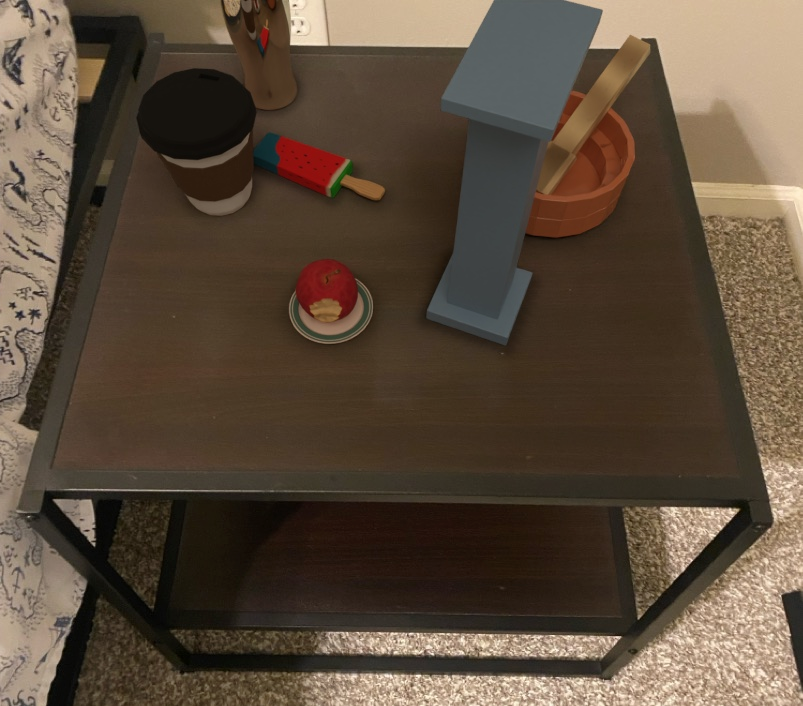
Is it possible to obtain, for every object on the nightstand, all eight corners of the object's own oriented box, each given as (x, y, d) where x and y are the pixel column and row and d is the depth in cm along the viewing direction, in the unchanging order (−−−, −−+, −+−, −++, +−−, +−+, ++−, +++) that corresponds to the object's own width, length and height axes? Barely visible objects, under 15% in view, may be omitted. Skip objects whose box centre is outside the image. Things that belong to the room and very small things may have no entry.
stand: (499, 363, 66) (562, 132, 41) (418, 335, 67) (432, 95, 43) (536, 266, 71) (610, 11, 47) (460, 242, 72) (495, -18, 48)
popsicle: (372, 205, 73) (247, 156, 76) (372, 214, 74) (250, 166, 77) (392, 175, 75) (270, 129, 78) (392, 185, 76) (272, 139, 79)
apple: (389, 317, 68) (389, 277, 62) (320, 361, 65) (313, 324, 60) (341, 263, 71) (337, 220, 65) (273, 303, 69) (262, 262, 63)
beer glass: (310, 79, 84) (295, -45, 71) (287, 119, 81) (267, -4, 68) (255, 67, 85) (231, -58, 72) (231, 105, 82) (201, -18, 69)
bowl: (616, 137, 80) (631, 94, 75) (620, 248, 72) (638, 208, 67) (476, 124, 81) (481, 80, 76) (465, 232, 73) (471, 192, 68)
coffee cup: (193, 147, 79) (162, 54, 68) (287, 167, 77) (270, 75, 67) (152, 222, 73) (111, 133, 63) (251, 244, 72) (227, 157, 62)
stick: (655, 46, 71) (655, 55, 72) (625, 31, 72) (625, 40, 74) (546, 196, 73) (548, 201, 74) (518, 178, 74) (521, 184, 76)
